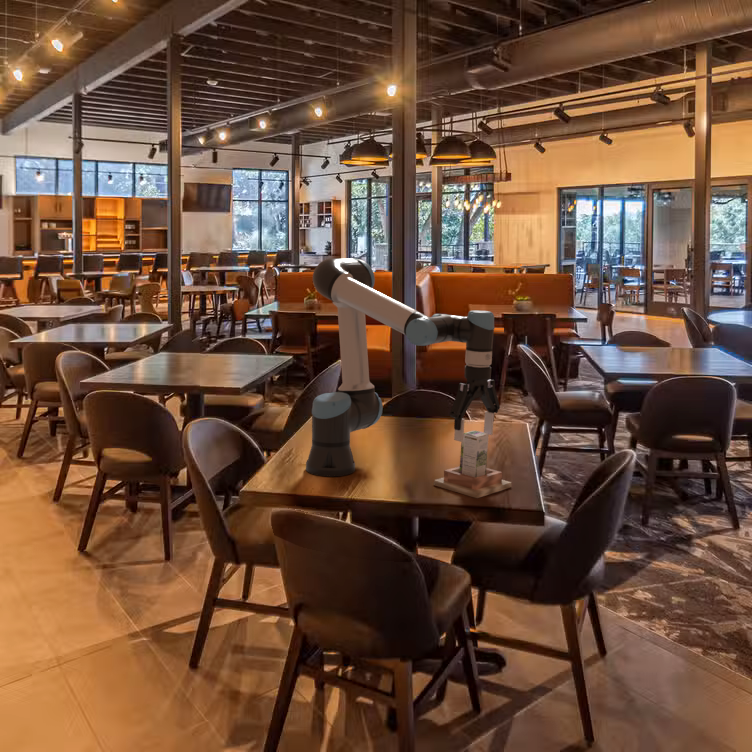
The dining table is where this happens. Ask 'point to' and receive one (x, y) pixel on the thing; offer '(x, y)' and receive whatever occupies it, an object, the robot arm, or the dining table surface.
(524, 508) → the dining table surface
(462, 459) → the syrup box
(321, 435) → the robot arm
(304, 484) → the dining table surface
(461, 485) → the socket board
